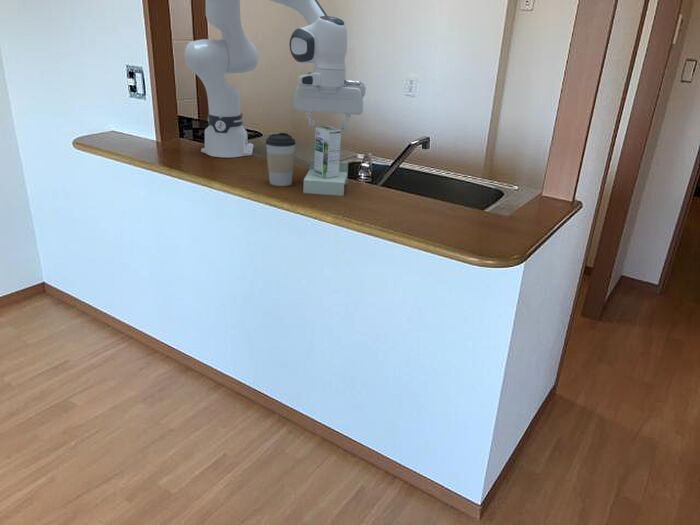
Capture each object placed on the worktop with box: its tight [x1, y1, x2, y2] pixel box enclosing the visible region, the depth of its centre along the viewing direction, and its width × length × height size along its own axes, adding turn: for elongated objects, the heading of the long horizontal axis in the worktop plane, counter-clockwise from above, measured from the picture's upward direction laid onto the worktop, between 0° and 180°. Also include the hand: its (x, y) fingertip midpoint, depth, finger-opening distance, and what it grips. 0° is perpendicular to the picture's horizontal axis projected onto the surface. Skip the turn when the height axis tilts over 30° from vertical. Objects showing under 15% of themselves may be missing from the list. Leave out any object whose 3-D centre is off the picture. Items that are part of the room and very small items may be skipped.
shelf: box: [302, 159, 349, 197], centre depth 169 cm, size 13×12×7 cm
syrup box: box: [313, 125, 342, 178], centre depth 166 cm, size 6×6×14 cm
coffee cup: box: [265, 132, 296, 187], centre depth 170 cm, size 9×9×15 cm
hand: (327, 127), depth 163 cm, fingers open, 8 cm apart
